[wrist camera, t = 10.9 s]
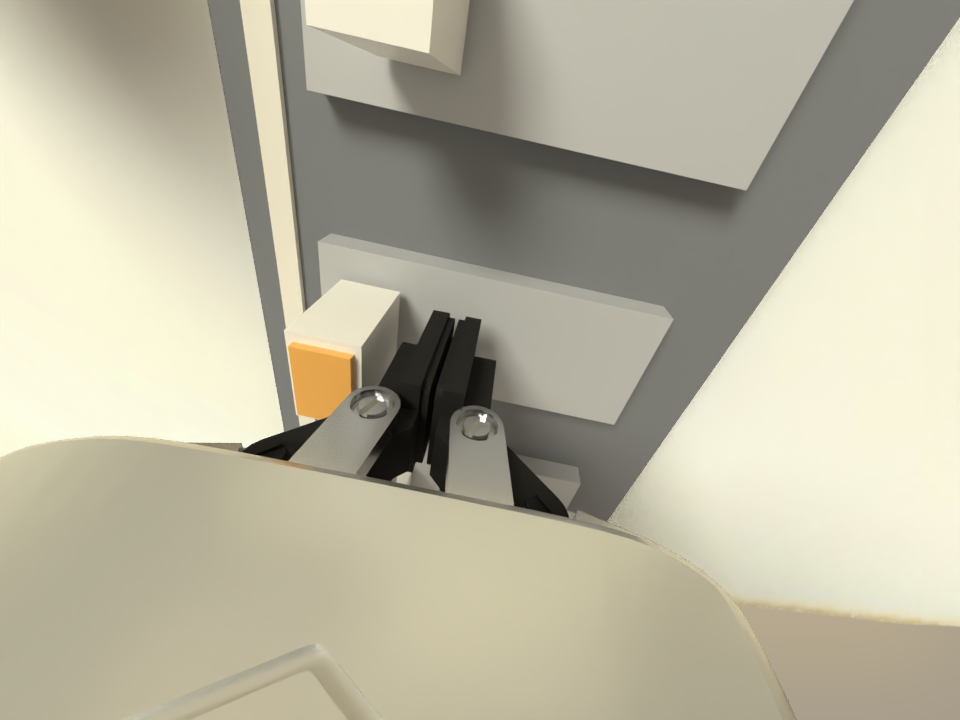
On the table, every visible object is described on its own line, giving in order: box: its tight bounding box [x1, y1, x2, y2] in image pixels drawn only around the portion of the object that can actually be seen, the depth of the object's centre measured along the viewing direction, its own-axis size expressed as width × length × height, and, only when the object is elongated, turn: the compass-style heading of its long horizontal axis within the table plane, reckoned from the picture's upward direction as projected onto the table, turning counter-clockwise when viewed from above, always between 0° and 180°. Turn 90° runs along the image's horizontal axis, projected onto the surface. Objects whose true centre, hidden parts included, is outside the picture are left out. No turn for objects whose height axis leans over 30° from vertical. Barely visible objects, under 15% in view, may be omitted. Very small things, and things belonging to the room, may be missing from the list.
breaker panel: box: [208, 0, 960, 522], centre depth 14 cm, size 18×28×3 cm, turn 169°
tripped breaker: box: [284, 279, 400, 420], centre depth 11 cm, size 2×3×4 cm, turn 170°
